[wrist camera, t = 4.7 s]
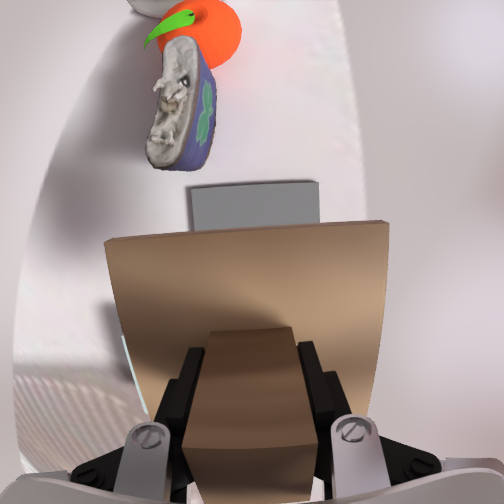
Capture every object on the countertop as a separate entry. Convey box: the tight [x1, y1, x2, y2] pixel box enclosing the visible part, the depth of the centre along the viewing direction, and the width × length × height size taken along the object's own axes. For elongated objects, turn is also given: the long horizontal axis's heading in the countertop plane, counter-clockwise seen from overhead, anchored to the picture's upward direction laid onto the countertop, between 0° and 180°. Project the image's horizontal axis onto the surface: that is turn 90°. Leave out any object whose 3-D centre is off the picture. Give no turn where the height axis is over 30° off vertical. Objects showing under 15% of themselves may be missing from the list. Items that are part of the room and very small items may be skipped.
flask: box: [145, 35, 217, 172], centre depth 19 cm, size 9×3×11 cm, turn 173°
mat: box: [191, 182, 320, 231], centre depth 27 cm, size 12×11×1 cm
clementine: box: [144, 0, 242, 69], centre depth 19 cm, size 8×7×7 cm
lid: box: [104, 220, 389, 504], centre depth 10 cm, size 11×11×7 cm
